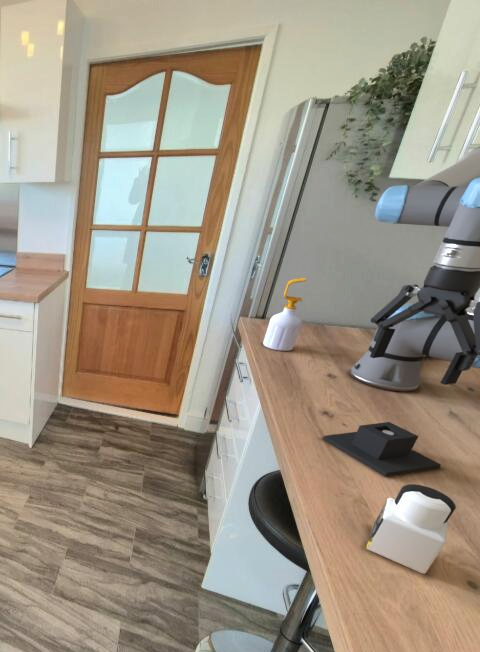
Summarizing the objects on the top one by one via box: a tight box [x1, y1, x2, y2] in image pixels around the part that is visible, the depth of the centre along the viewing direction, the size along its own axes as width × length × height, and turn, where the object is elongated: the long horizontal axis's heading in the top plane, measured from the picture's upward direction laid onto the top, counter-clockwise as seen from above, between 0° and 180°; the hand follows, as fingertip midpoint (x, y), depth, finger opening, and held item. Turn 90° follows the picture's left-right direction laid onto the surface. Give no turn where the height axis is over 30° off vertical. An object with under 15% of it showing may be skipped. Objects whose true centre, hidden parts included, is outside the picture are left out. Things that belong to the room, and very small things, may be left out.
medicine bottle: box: [366, 483, 457, 575], centre depth 69 cm, size 7×7×12 cm
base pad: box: [322, 430, 442, 477], centre depth 94 cm, size 14×14×6 cm
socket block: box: [351, 421, 419, 460], centre depth 94 cm, size 8×6×5 cm
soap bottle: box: [262, 277, 307, 352], centre depth 148 cm, size 9×9×25 cm
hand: (409, 369), depth 90 cm, fingers open, 13 cm apart
